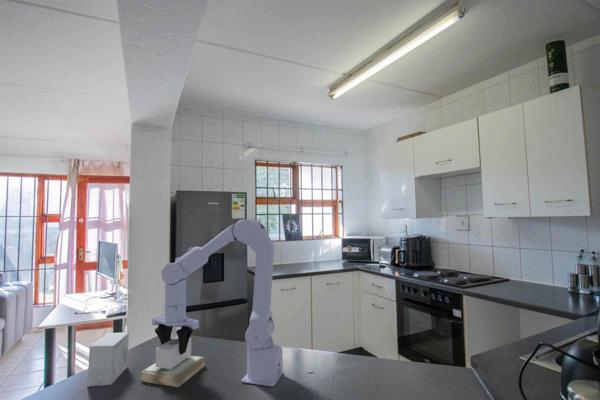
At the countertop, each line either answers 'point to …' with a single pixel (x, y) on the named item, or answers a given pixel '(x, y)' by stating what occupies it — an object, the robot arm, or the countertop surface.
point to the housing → (171, 354)
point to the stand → (173, 372)
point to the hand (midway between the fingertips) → (174, 352)
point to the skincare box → (107, 359)
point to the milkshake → (174, 332)
